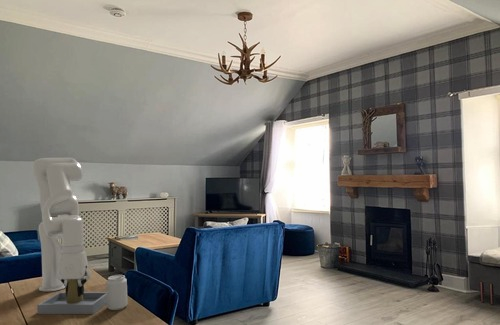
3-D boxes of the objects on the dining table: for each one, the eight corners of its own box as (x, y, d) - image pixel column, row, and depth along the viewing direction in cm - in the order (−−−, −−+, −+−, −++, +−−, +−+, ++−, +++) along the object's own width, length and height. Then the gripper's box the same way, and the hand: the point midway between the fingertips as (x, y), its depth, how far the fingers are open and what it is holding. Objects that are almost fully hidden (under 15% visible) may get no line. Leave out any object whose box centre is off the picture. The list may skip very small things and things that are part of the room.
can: (121, 311, 143) (120, 279, 143) (103, 310, 145) (102, 279, 145) (131, 304, 151) (130, 274, 151) (114, 303, 152) (113, 273, 152)
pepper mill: (66, 304, 146) (65, 276, 146) (66, 300, 151) (65, 272, 151) (83, 301, 149) (82, 273, 149) (82, 297, 154) (81, 270, 154)
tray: (37, 313, 144) (37, 304, 144) (59, 300, 158) (59, 292, 158) (93, 313, 142) (92, 304, 142) (110, 300, 156) (110, 291, 156)
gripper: (47, 251, 147) (49, 298, 147) (88, 251, 146) (90, 298, 146) (58, 247, 155) (60, 292, 155) (98, 246, 153) (99, 292, 153)
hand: (74, 294), depth 150 cm, fingers closed on pepper mill, 4 cm apart
